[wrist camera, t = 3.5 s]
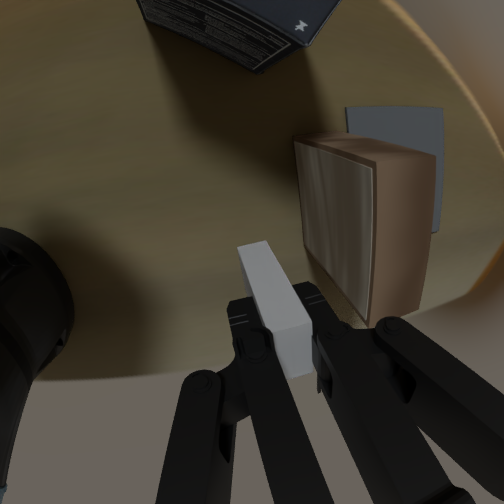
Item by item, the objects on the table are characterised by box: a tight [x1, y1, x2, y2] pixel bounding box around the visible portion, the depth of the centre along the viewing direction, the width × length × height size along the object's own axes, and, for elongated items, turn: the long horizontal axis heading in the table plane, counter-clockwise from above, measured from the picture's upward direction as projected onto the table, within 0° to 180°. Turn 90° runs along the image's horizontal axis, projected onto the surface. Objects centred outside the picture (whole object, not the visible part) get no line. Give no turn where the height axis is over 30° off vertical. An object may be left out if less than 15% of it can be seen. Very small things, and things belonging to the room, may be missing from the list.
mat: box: [345, 106, 444, 232], centre depth 26 cm, size 12×14×1 cm
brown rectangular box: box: [293, 131, 436, 329], centre depth 20 cm, size 4×10×12 cm, turn 9°
